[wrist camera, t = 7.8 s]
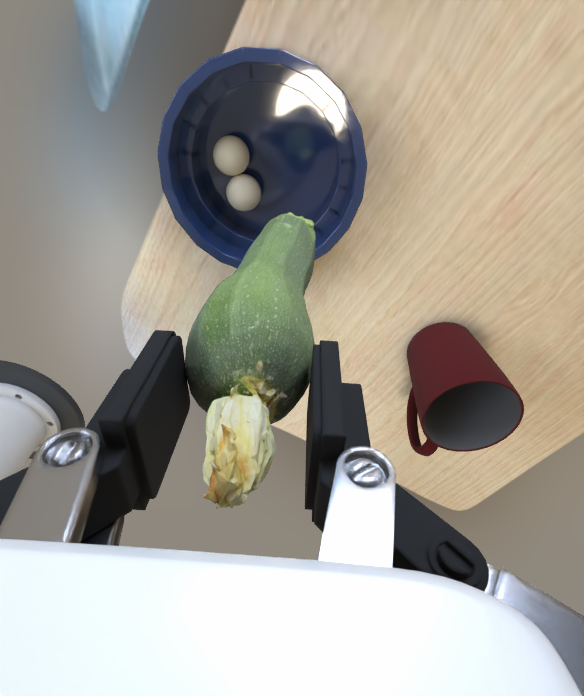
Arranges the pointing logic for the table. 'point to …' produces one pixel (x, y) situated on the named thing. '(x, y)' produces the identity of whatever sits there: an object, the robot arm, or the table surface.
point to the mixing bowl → (262, 150)
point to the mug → (457, 392)
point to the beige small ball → (231, 155)
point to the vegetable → (252, 356)
